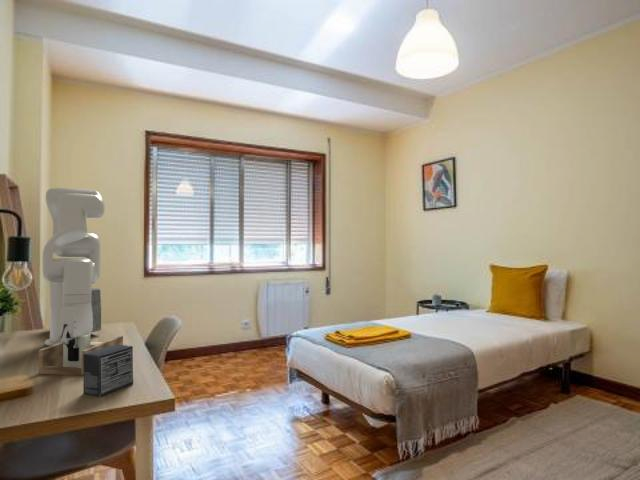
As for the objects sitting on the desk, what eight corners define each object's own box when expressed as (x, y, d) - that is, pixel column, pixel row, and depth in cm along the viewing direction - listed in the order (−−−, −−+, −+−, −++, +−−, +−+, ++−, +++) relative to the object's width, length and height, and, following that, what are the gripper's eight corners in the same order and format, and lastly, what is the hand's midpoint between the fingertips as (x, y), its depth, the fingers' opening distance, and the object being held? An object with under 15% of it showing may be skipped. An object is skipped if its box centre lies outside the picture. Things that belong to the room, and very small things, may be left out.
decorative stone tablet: (102, 286, 172) (64, 288, 187) (87, 288, 166) (49, 290, 181) (104, 332, 170) (66, 331, 185) (89, 335, 165) (50, 333, 180)
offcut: (89, 349, 136) (89, 342, 136) (109, 350, 135) (109, 342, 135) (82, 352, 132) (82, 344, 132) (103, 352, 132) (103, 345, 132)
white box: (68, 366, 126) (68, 334, 126) (90, 367, 125) (90, 334, 126) (62, 368, 124) (63, 336, 124) (84, 369, 123) (85, 336, 123)
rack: (82, 355, 138) (82, 335, 138) (122, 356, 137) (123, 336, 137) (38, 373, 119) (38, 349, 119) (85, 375, 118) (85, 351, 118)
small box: (116, 381, 113) (117, 343, 113) (134, 384, 110) (134, 345, 110) (81, 394, 103) (82, 352, 103) (99, 397, 101) (100, 355, 101)
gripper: (82, 296, 133) (82, 352, 133) (46, 303, 117) (45, 367, 117) (104, 296, 133) (104, 352, 132) (71, 303, 117) (70, 367, 116)
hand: (76, 358), depth 125 cm, fingers closed on white box, 2 cm apart
